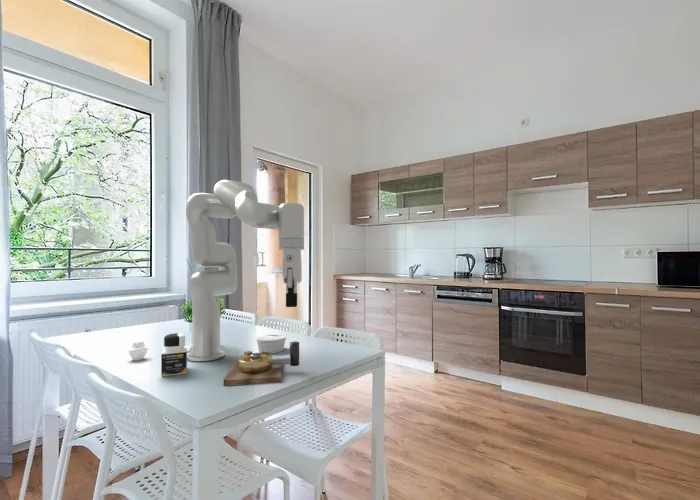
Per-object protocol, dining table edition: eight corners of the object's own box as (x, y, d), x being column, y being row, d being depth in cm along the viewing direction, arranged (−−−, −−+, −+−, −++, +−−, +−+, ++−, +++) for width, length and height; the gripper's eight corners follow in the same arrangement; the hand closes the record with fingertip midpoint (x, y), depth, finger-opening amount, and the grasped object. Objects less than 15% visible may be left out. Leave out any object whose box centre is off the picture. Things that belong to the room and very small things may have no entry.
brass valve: (236, 373, 106) (236, 348, 106) (242, 364, 116) (242, 341, 116) (299, 370, 108) (299, 346, 108) (299, 361, 118) (299, 338, 118)
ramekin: (288, 347, 145) (288, 334, 145) (282, 354, 134) (282, 340, 134) (261, 347, 145) (260, 334, 145) (252, 354, 134) (252, 340, 134)
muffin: (126, 359, 129) (126, 340, 129) (145, 356, 133) (145, 337, 133) (131, 362, 125) (131, 342, 125) (150, 359, 129) (150, 339, 129)
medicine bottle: (161, 376, 109) (161, 337, 110) (163, 370, 116) (163, 333, 116) (186, 373, 112) (186, 335, 112) (187, 367, 119) (187, 331, 119)
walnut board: (223, 385, 101) (223, 380, 101) (234, 366, 119) (234, 362, 119) (280, 381, 103) (280, 376, 104) (282, 363, 121) (282, 359, 121)
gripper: (302, 244, 99) (302, 310, 98) (305, 245, 114) (305, 303, 113) (275, 244, 98) (275, 310, 98) (281, 245, 113) (281, 303, 113)
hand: (291, 306), depth 106 cm, fingers closed
